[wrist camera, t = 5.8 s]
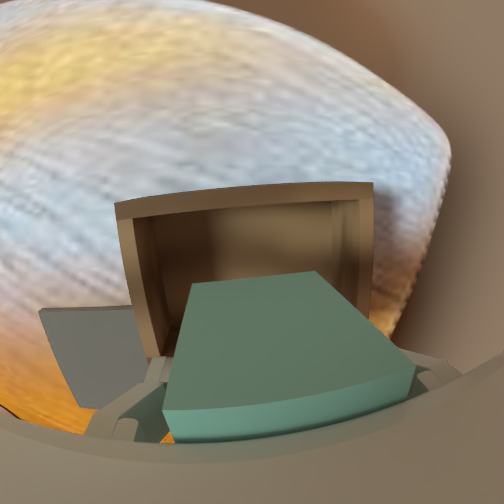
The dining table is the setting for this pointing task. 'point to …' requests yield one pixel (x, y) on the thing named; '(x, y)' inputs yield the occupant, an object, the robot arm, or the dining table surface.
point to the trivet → (96, 351)
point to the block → (277, 361)
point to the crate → (241, 245)
